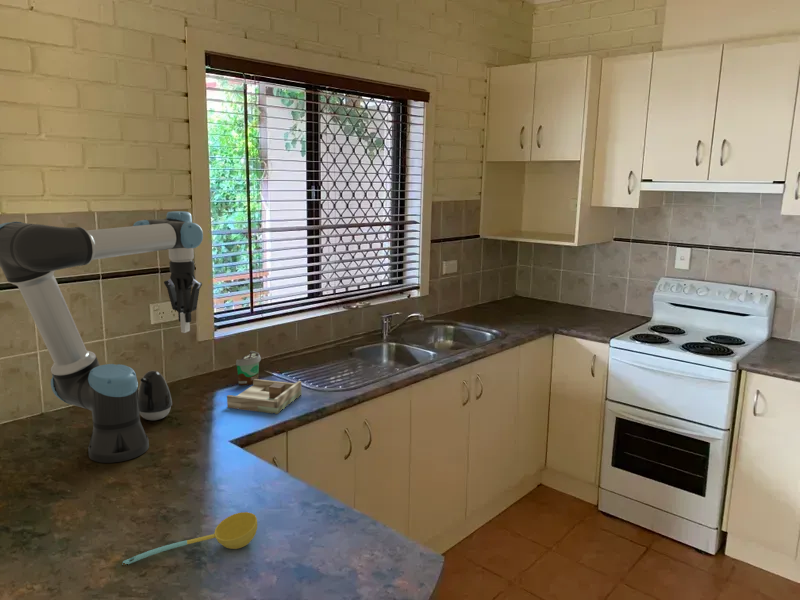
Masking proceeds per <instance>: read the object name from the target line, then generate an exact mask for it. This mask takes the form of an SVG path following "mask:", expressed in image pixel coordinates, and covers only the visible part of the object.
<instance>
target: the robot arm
mask: <svg viewBox="0 0 800 600" xmlns="http://www.w3.org/2000/svg"><path fill="white" fill-rule="evenodd" d="M203 239H204V231H203V229H202V227H201V226H200V225H199V224H198V223H196V222H193V217H192V214H191V212H189V211H184V210H183V211H181V210H180V211H178V210H176V211H167V212H166V217H165V218H162V219H161V218H160V219H159V218H158V219H157V218H156V219H155V218H154V219H141V220H137V221H135V222H134V223H133V225H132V226H131V225H130V226H122V227H121V226H120V227H111V228H110V227H109V228H99V229H98V228H97V229H90V230H88V229H86V228H84V227H81V226H76V227H65V226H64V227H63V226H55V225H47V224H38V223H27V222H26V223H25V222H21V221H11V222H10V221H9V222H3V223H0V268H1V271H2V272H3V275H4V276H5V279H6V280H7V282H8V283H9V284H12V285H13V286H16V287H17V288H18V289H19V290H18V291H19V292H20V294H21V296H22V298H23V300H24V303H25V304H26V307H27V308H28V312H29V313H30V315H31V317H32V319H33V321H34V324H35V325H36V326H35V327H37V330H38V332H39V334H40V336H41V338H42V341H43V343H44V344H45V347H46V349H47V351H48V354H49V355H50V358H51V360H52V361H53V363H52V366H51V367H50V373H51V376H52V377H51V379H50V387H51V390H52V392H53V394H54V396H55V397H56V398H57V399H59V400H60V401H62V402H64V403H65V404H68V405H72V406H75V407H79V408H83V409H86V410H88V411H91V416H92V424H93V428H92V431H91V432H92V433H91V436H90V441H89V445H88V447H87V448H88V451H87V453H88V457H89V459H90V460H92V461H94V462H97V463H101V464H102V463H103V464H104V463H105V464H109V463H110V464H111V463H122V462H125V461H129V460H132V459H135V458H138V457H139V456H141V455H143V454H144V453H146V452H147V451H148V449H149V447H150V444H149V442H150V441H149V437H148V435H147V434H146V431H145V430H144V429H145V428H144V427H143V425H142V422H141V417H140V416H141V415H140V413H139V399H138V391H139V382H138V378H137V374H136V372H135V370H134V368H132V367H130V366H127V365H125V364H119V363H118V364H114V363H108V364H107V363H106V364H100V362H99V360H98V358H97V355H96V353H95V352H93V351H91V350H87V347H86V346H85V345H86V344H85V343H84V341H83V339H82V335H81V334H80V332H79V329H78V327H77V324H76V322H75V320H74V318H73V315H72V313H71V312H70V309H69V306H68V305H67V301H66V299H65V297H64V295H63V293H62V290H61V288H60V286H59V284H58V283H59V282H58V281H57V279H56V277H55V275H54V273H55V272H56V271H59V270H64V269H70V268H75V267H76V268H77V267H81V266H87V265H90V264H91V262H92V261H95V260H102V259H108V258H115V257H122V256H130V255H137V254H144V253H152V252H158V251H166V250H168V259H169V260H170V261H169V264H168V265H169V272H170V273H171V274H170V276H169V277H170V278H169V279H167V280H165V281H163V284H164V286H165V288H166V290H167V293H168V296H169V302H170V304H171V308H172V311H177V313H178V322H180V332H181V333H183V334H186V333H188V332H190V331H191V323H192V312H194V311H196V310H197V308H198V301H199V297H200V289H201V288H202V286H203V283H202V282H201V281H198V280H196V276H195V260H193V259H195V256H194V255H195V254H194V253H195V251H194V249H196V248H198V247H199V246H200V245H201V244H202V242H203Z"/></svg>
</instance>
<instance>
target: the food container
mask: <svg viewBox="0 0 800 600" xmlns="http://www.w3.org/2000/svg"><path fill="white" fill-rule="evenodd" d="M261 360H262V357H261V355H260V353H259V352H257V351H254V350H249V354H247V355H244V356H243V357H242V358H241V359H236V361H235V366H236V370H237V378H238V379H237V382H238V386H239V387H241V386H242V387H243V386H253V379H259V372H260V371H259V370H260V369H259V368H260V362H261Z"/></svg>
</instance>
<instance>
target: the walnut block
mask: <svg viewBox="0 0 800 600" xmlns="http://www.w3.org/2000/svg"><path fill="white" fill-rule="evenodd" d="M284 391H286V386H285V384H280V383H274V384H272V385H271V386H269V398H272V399H275V398H276V397H277V396H279V395H280V394H282V393H283V392H284Z"/></svg>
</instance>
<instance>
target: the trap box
mask: <svg viewBox="0 0 800 600" xmlns="http://www.w3.org/2000/svg"><path fill="white" fill-rule="evenodd" d="M274 383H280V384H285V386H286V391H284V392H283V393H282V394H280V395H279V396H277V397H276V398H275V399H272V398H269V386H271V385H272V384H274ZM300 395H301V396H302V381H300V380H298V381H296V382H295V383H294V382H285V381H278V380H277V381H276V380H268V379H259V378H258V379H253V384H252V385H250V387H248V388H246V389H245V390H243V391H242V392H240V393H239V394H237V395H230V394H228V395H226V404H227V408H228V409H235V410H242V411H243V410H245V411H251V412H256V413H257V412H258V413H265V414H267V413H268V414H273V413H275V415H278V414H279V413H281V412H282V411H283V410H284V409H286V408H287V407H288V406H289V405H288V404H290V403H291V402H292V401H293V402H294V400H295V399H296V398H297V399H299V398H300V397H301V396H300ZM299 396H300V397H299ZM297 399H296V400H297ZM296 400H295V401H296ZM293 402H292V403H293ZM292 403H291V404H292ZM291 404H290V405H291ZM287 405H288V406H287ZM286 406H287V407H286ZM285 407H286V408H285ZM282 409H283V410H282ZM281 410H282V411H281ZM280 411H281V412H280Z"/></svg>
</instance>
